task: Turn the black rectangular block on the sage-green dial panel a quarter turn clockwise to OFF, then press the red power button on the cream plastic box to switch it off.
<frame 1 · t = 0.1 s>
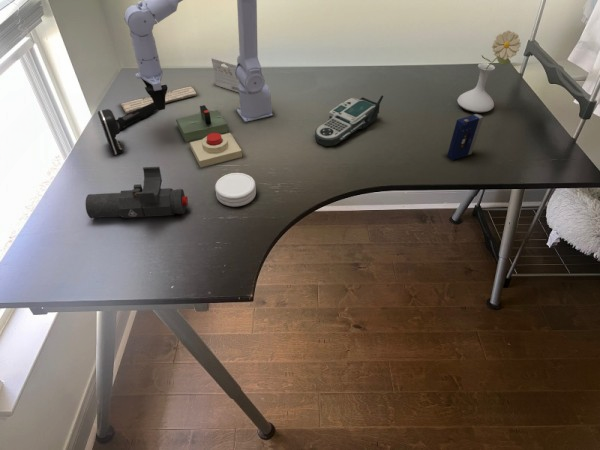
hand: (158, 103, 126), 10 cm above the table, tool pointing down, fingers open, 7 cm apart
electric trimmer: (137, 120, 139), on the table
flower in vase: (476, 108, 146), on the table
black rectangular block: (205, 114, 132), point 5 cm above the table, hinge at 90.0°
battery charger: (117, 149, 128), on the table
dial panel: (202, 129, 135), on the table
power button: (214, 139, 123), point 4 cm above the table, slide at 0.1 cm
ink cartridge box: (229, 88, 155), on the table
laser sight: (142, 213, 108), on the table
communication device: (343, 129, 136), on the table
cassette player: (459, 155, 126), on the table
coaster: (236, 195, 113), on the table
newspaper: (159, 101, 148), on the table
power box: (216, 152, 126), on the table
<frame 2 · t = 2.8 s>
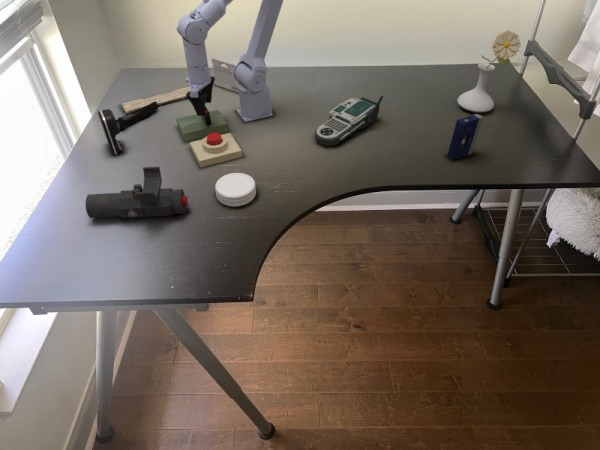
hand: (204, 108, 131), 7 cm above the table, tool pointing down, fingers open, 7 cm apart
nothing on the table moved.
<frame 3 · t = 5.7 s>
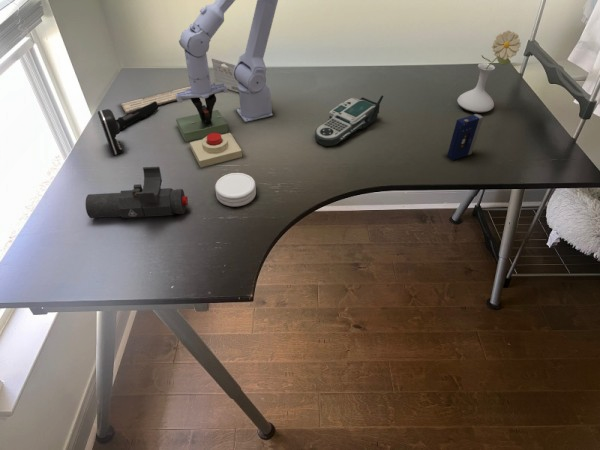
hand: (206, 118, 133), 4 cm above the table, tool pointing down, fingers closed on black rectangular block, 2 cm apart
black rectangular block: (205, 114, 132), point 5 cm above the table, hinge at 90.0°, touching gripper
everything else where it was.
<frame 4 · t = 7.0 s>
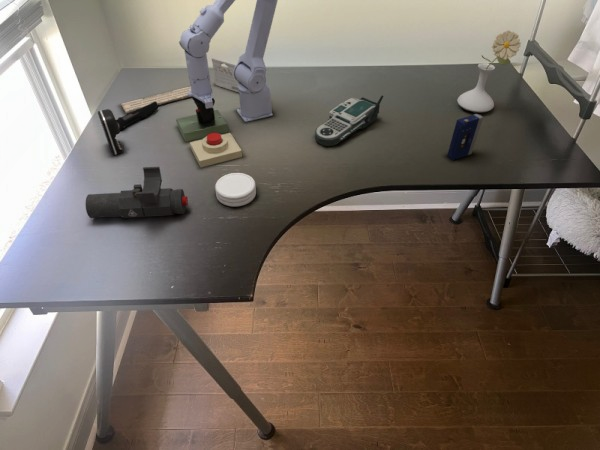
hand: (206, 119, 133), 3 cm above the table, tool pointing down, fingers closed on black rectangular block, 2 cm apart
black rectangular block: (205, 114, 132), point 5 cm above the table, hinge at 0.0°, touching gripper
everything else where it was.
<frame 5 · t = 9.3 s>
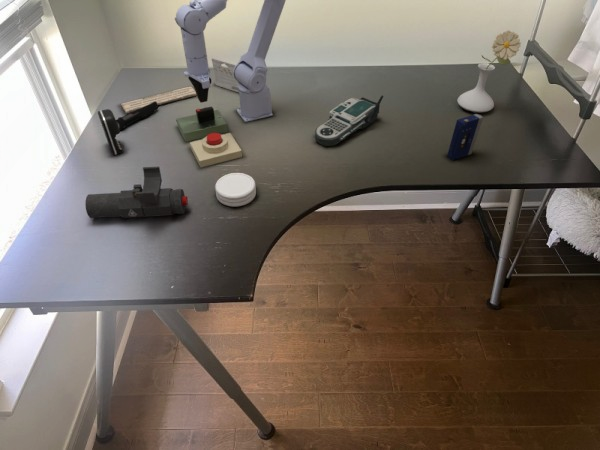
hand: (203, 101, 129), 9 cm above the table, tool pointing down, fingers closed
black rectangular block: (205, 114, 132), point 5 cm above the table, hinge at 0.0°
everything else where it was.
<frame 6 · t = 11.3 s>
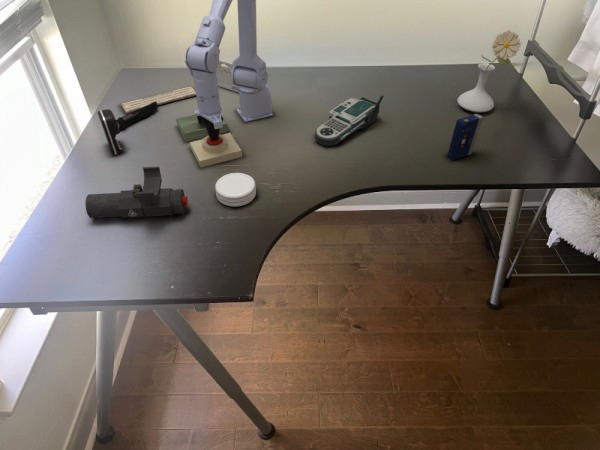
hand: (214, 138, 123), 5 cm above the table, tool pointing down, fingers closed, pressing on power button
power button: (214, 141, 124), point 4 cm above the table, slide at -0.6 cm, touching gripper
everything else where it was.
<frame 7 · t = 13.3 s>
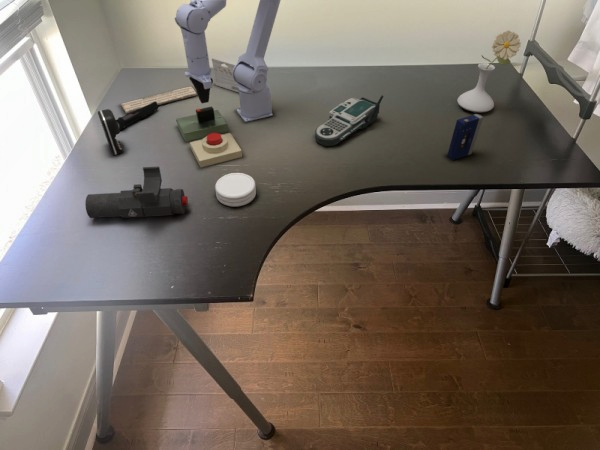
hand: (204, 101, 127), 10 cm above the table, tool pointing down, fingers closed
power button: (214, 139, 123), point 4 cm above the table, slide at 0.1 cm
everything else where it was.
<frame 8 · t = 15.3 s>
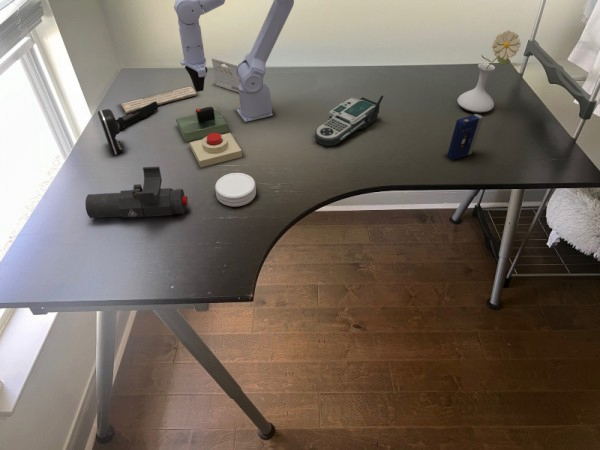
hand: (199, 90, 131), 10 cm above the table, tool pointing down, fingers closed
nothing on the table moved.
at the end: black rectangular block at +0° (first picture: +90°); power button pushed in 1.2 cm at the most during the clip, back to where it started at the end; power button slide at 0.1 cm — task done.
